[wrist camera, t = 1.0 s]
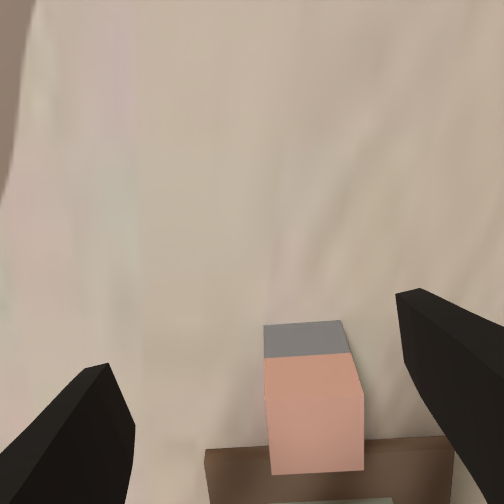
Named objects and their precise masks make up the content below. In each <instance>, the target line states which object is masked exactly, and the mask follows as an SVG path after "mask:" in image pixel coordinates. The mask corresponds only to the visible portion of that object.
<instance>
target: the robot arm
mask: <svg viewBox="0 0 504 504" xmlns="http://www.w3.org/2000/svg"><path fill="white" fill-rule="evenodd" d="M395 296H396V304H397V311H398V319H399V326H400V334H401V342H402V349H403V357H404V363H405V365H406V367H407V369H408V371H409V374H410V376H411V378H412V380H413V382H414V384H415V386H416V388H417V390H418V392H419V394H420V396H421V398H422V400H423V401H424V403H425V404H426V406H427V408H428V409H429V411H430V412H431V414H432V415H433V417H434V419H435V420H436V422H437V423H438V425H439V426H440V428H441V429H442V431H443V432H444V434H445V435H446V437H447V439H448V440H449V442H450V443H451V445H452V446H453V448H454V449H455V451H456V452H457V454H458V455H459V457H460V458H461V460H462V462H463V463H464V465H465V466H466V468H467V469H468V471H469V472H470V474H471V475H472V477H473V479H474V480H475V482H476V484H477V485H478V487H479V489H480V490H481V492H482V494H483V496H484V498H485V499H486V501H487V503H488V504H504V327H503V326H501V325H498V324H496V323H494V322H491V321H489V320H487V319H485V318H482V317H480V316H478V315H476V314H474V313H472V312H469V311H467V310H465V309H463V308H461V307H459V306H457V305H455V304H453V303H451V302H449V301H447V300H445V299H443V298H441V297H439V296H437V295H434V294H432V293H430V292H428V291H426V290H424V289H421V288H418V289H414V290H410V291H405V292H401V293H397V294H395ZM135 426H136V425H135V423H134V421H133V418H132V416H131V414H130V411H129V409H128V407H127V404H126V402H125V400H124V398H123V395H122V393H121V391H120V388H119V386H118V384H117V381H116V379H115V377H114V374H113V372H112V370H111V367H110V365H109V363H105V364H101V365H97V366H93V367H88V368H85V369H84V370H82V371H81V372H80V373H79V374H78V375H77V376H76V377H75V378H74V379H73V380H72V381H71V382H70V383H69V384H68V385H67V386H66V387H65V388H64V389H63V390H62V391H61V392H60V393H59V394H58V395H57V397H56V398H55V399H54V400H53V401H52V402H51V403H50V404H49V405H48V406H47V407H46V408H45V409H44V410H43V411H42V412H41V413H40V414H39V416H38V417H37V418H36V419H35V420H34V421H33V422H32V423H31V424H30V425H29V426H28V427H27V428H26V429H25V430H24V431H23V432H22V433H21V434H20V435H19V436H18V437H17V438H16V439H15V440H14V441H13V442H12V443H11V444H10V445H9V446H8V447H7V448H6V449H5V450H4V451H3V452H1V453H0V504H125V499H126V495H127V490H128V485H129V480H130V476H131V471H132V465H133V456H134V443H135Z"/></svg>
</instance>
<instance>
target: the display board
mask: <svg viewBox="0 0 504 504" xmlns="http://www.w3.org/2000/svg"><path fill="white" fill-rule="evenodd" d="M454 451H455V449H454V448H453V446H452V445H451V443H450V442H449V440H448V439H447V437H446V436H433V437H415V438H398V439H380V440H364V470H360V471H342V472H323V473H304V474H286V475H272V473H271V462H270V451H269V446H258V447H241V448H223V449H206V451H205V459H204V466H205V473H206V479H207V485H208V492H209V498H210V504H450V495H451V484H452V473H453V462H454Z"/></svg>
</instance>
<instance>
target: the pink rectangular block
mask: <svg viewBox="0 0 504 504" xmlns="http://www.w3.org/2000/svg"><path fill="white" fill-rule="evenodd" d="M264 377H265V407H266V418H267V429H268V440H269V451H270V462H271V473H272V475H286V474H304V473H323V472H342V471H360V470H364V393H363V390H362V387H361V384H360V380H359V377H358V374H357V371H356V368H355V365H354V361H353V358H352V355H351V352H350V349H349V346H348V342H347V339H346V336H345V333H344V330H343V327H342V323H341V320H336V321H322V322H307V323H292V324H277V325H264Z"/></svg>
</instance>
